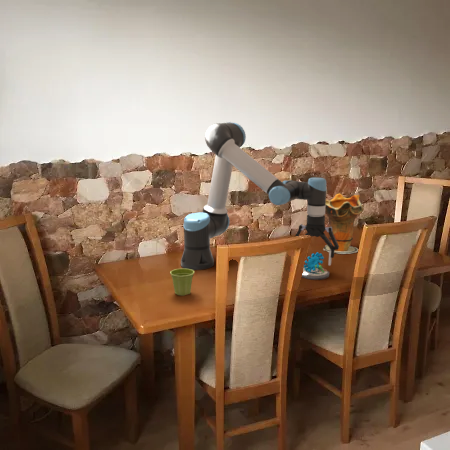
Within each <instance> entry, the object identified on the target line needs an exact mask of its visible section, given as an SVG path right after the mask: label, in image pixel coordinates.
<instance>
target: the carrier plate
mask: <svg viewBox="0 0 450 450" xmlns="http://www.w3.org/2000/svg"><path fill="white" fill-rule="evenodd" d="M302 268H303V273H302V277H301V278H303V279H306V280H311V281H312V280H313V281H317V280H319V281H320V280H325V279H328V278H329V277H330V271H329V270H328V269H326V268H322V270H323V271H324V273H323V272H322V271H321V270H319V269H317V268H316V270H315V271H313V270H311V272H309V271H308V270H307V271H306V270H305V268H304V267H302ZM306 268H307V267H306Z"/></svg>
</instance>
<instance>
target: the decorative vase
mask: <svg viewBox="0 0 450 450" xmlns="http://www.w3.org/2000/svg"><path fill="white" fill-rule="evenodd" d="M360 197H361V195H360V194H354V195H351V197H346V196H344V195H343V194H342V193H336V194H335V195H334V197H333V198H332V199H330V200H329V199H326V206H325V215H326V216H327V217H328V222H329V223H328V227H330V226H331V227H332V232H333V234H334V236H335V239H336V241H337V243H338V245H339V248H338V250H334V254H339V255H340V254H341V255H346V254H354V253H358V252H359V251H358V250H359V248H357V247H356V246H353V245H352V240H354V238H353V234H354V230H355V229H354V226H355V221H356V219H357V217H358V216H359V214H361V213H363V212H364V210H365V209H364V206H363V204H362V203H361V201H360ZM328 239H329V241H330V242H331V243H332V245H333V246H334V244H333V242H332V240H331V237H330V236H329V237H328ZM329 250H330V248H329V247H328V245H327V244H326V245H325V246H324V247H323V251H326V252H328V253H329Z"/></svg>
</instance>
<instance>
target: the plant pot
mask: <svg viewBox="0 0 450 450" xmlns="http://www.w3.org/2000/svg"><path fill="white" fill-rule="evenodd" d="M169 273H170V276H171V278H172V283H173V284H172V285H173V289H174V294H175V295H177V296H186V295H190V294H191V291H192V290H191V289H192V282H193V276H194V275H195V270H192V269H186V268H183V267H181V268H176V269H173V270H170V272H169Z"/></svg>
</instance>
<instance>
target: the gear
mask: <svg viewBox="0 0 450 450" xmlns="http://www.w3.org/2000/svg"><path fill="white" fill-rule="evenodd" d="M306 258H307V259H305V261H304V262H305V263H304V264H303V266H304V267H303V268H305V270H306V271H307V270H308V271H309V272H311V270H313V271H315V270H316V268H317V269H319V270H321V271H322V272H323V273H324V271H323V270H322V268H323V266H322V264H323V263H324V261H323V260H325V257H324V255H323V254H322V253H321V252H320V253H319V252H318V251H317V252H316V253H311V256H310V255H309V256H307V257H306ZM306 267H307V268H306Z"/></svg>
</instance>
